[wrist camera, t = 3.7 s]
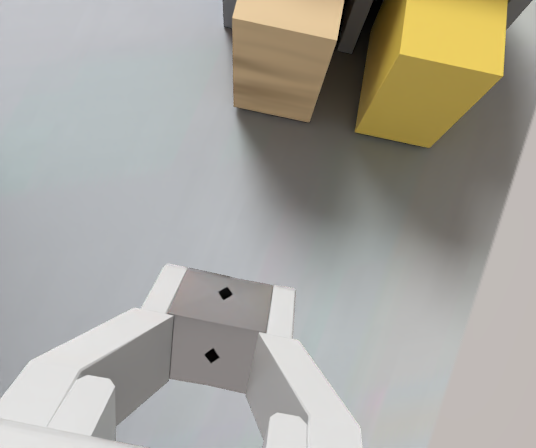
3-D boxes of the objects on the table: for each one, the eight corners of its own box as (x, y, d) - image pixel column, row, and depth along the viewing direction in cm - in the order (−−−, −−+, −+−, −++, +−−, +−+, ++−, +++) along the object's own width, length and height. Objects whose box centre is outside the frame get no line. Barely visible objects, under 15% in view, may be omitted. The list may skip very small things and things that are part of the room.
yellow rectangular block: (429, 148, 28) (503, 76, 20) (354, 132, 28) (399, 53, 20) (440, 45, 30) (510, -56, 22) (370, 29, 30) (417, -77, 22)
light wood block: (309, 122, 28) (336, 40, 20) (233, 106, 28) (232, 17, 20) (328, 21, 30) (360, -90, 22) (258, 5, 30) (265, -111, 22)
